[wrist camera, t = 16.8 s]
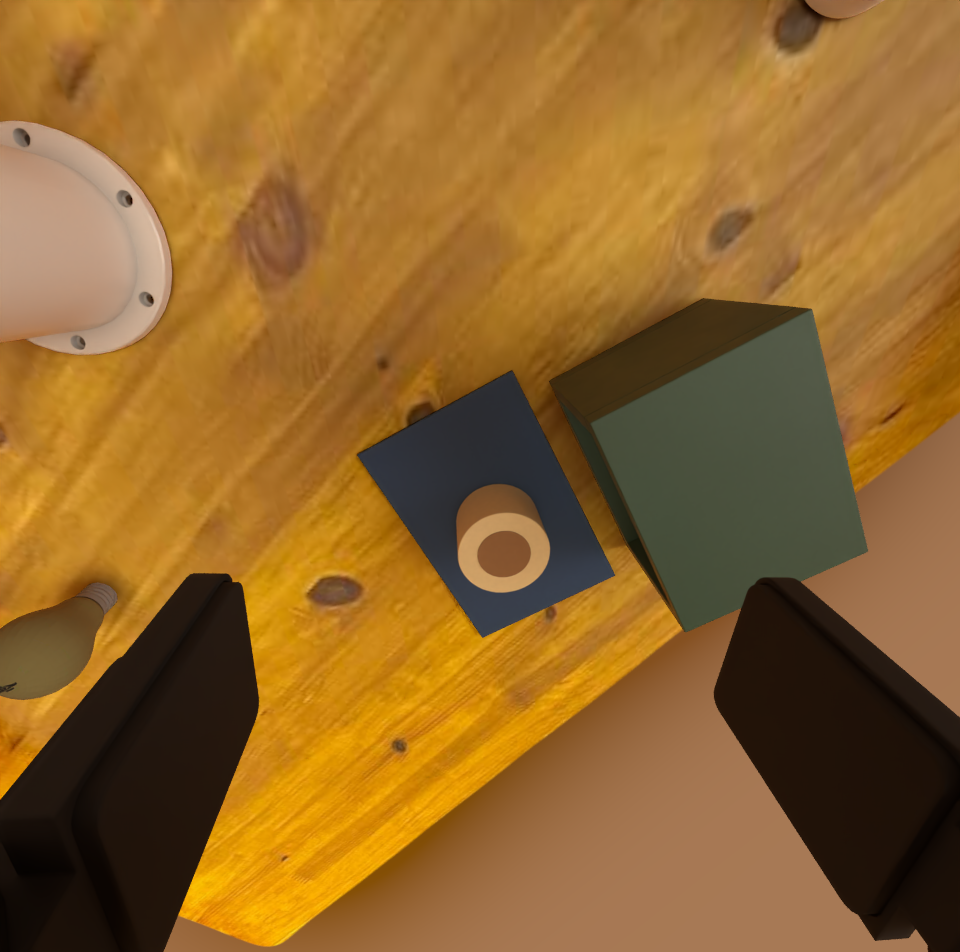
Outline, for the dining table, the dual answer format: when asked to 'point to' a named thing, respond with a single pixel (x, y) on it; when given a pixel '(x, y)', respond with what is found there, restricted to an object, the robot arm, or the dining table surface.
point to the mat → (472, 465)
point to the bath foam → (841, 7)
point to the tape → (501, 539)
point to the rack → (718, 452)
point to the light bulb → (51, 644)
